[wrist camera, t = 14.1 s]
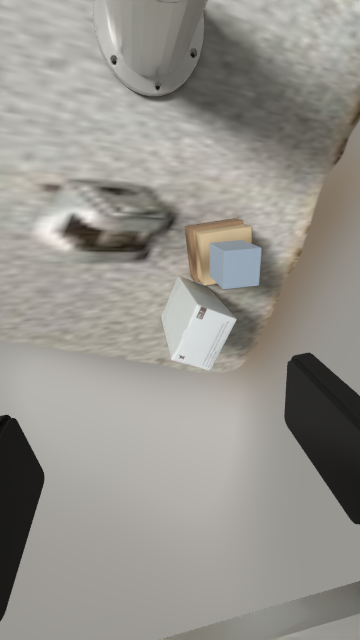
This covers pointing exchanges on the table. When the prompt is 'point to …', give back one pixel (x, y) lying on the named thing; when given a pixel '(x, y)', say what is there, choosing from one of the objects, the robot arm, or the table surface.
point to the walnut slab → (191, 243)
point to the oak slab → (216, 235)
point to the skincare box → (195, 324)
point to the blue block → (235, 264)
